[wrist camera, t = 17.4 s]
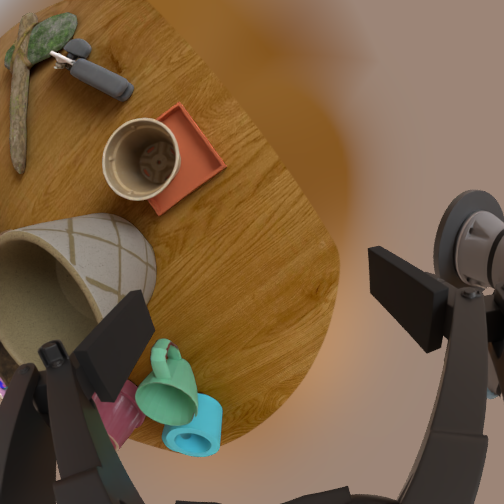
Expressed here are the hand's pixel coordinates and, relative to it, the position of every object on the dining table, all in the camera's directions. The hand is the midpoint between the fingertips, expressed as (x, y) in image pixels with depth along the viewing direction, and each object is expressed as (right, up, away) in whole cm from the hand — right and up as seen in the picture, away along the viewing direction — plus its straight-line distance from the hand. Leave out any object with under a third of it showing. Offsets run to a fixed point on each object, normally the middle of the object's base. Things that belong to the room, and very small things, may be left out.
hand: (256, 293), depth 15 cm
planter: (-23, 0, +25) cm, 34 cm away
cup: (-11, -30, +34) cm, 46 cm away
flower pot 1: (-13, +15, +21) cm, 29 cm away
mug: (-13, -16, +30) cm, 36 cm away
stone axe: (-30, +24, +18) cm, 43 cm away
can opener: (-25, +31, +17) cm, 43 cm away
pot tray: (-11, +15, +21) cm, 29 cm away
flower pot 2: (-28, -31, +20) cm, 46 cm away
